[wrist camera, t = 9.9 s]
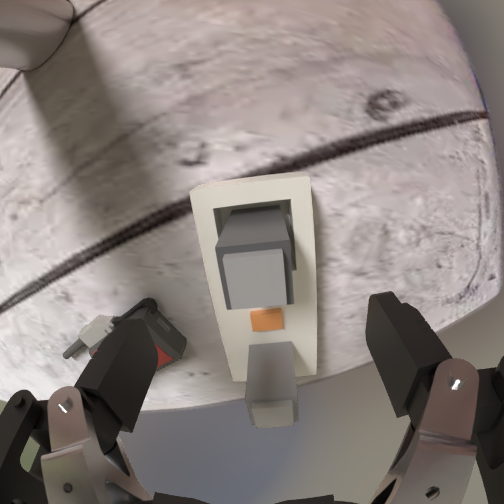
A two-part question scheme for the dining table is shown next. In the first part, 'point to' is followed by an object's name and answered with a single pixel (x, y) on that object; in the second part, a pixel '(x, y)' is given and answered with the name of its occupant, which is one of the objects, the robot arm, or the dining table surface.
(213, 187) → the power strip
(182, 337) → the walkie-talkie
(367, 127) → the dining table surface
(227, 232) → the plug
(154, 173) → the dining table surface
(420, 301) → the dining table surface
